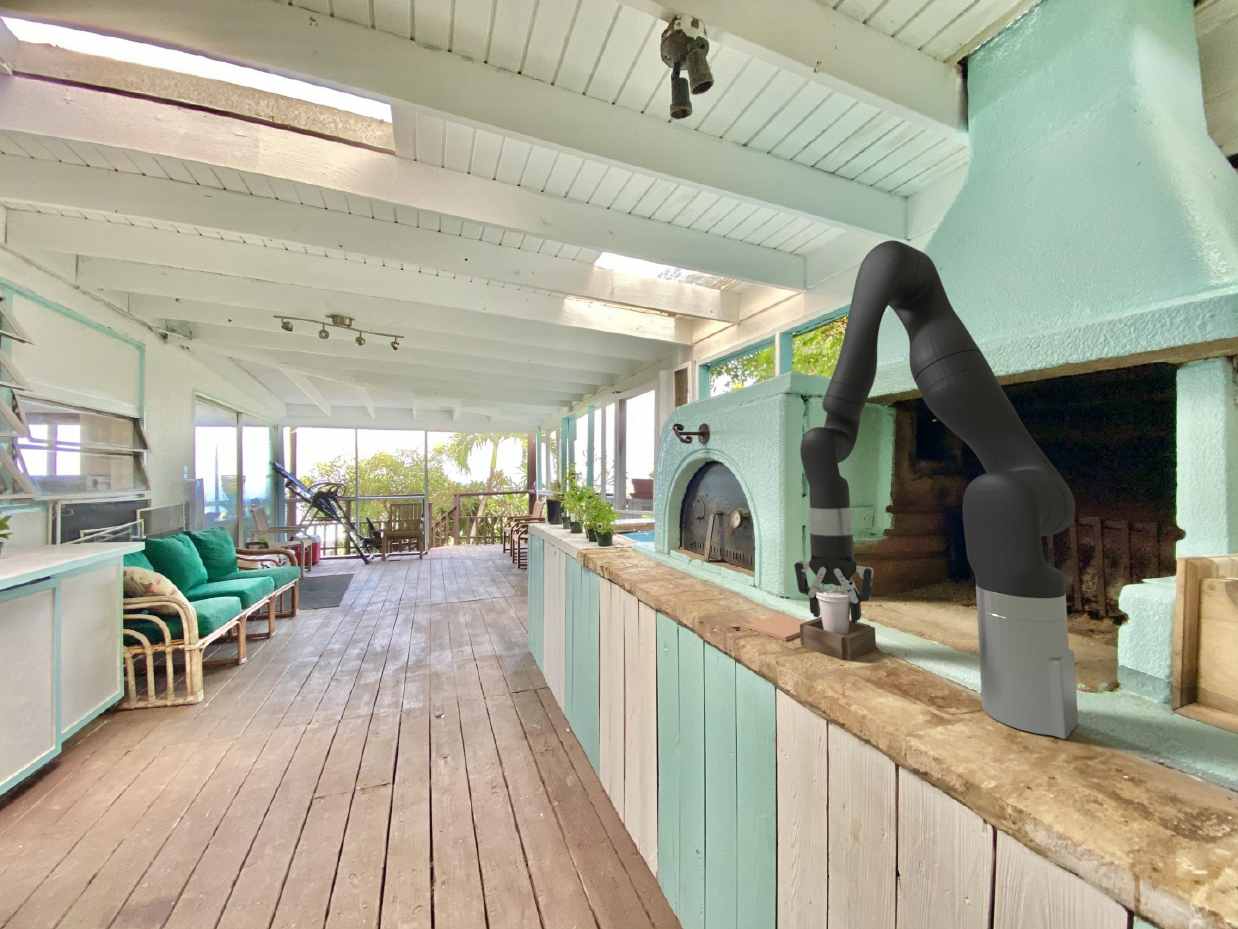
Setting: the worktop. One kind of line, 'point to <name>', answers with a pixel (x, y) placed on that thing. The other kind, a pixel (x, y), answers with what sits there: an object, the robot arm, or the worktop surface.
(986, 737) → the worktop surface
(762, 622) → the terracotta tile
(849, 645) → the wooden storage tray
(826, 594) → the smoothie
